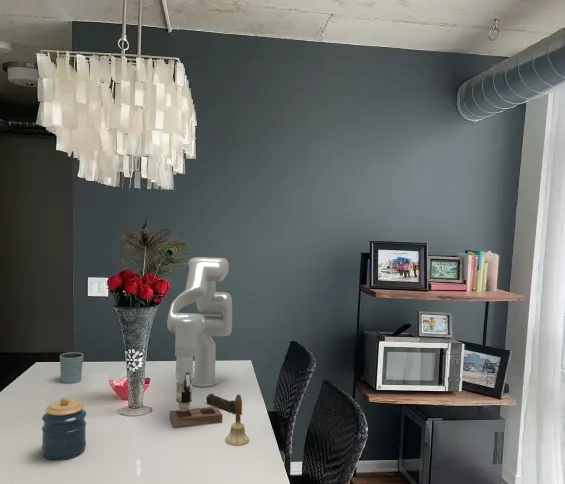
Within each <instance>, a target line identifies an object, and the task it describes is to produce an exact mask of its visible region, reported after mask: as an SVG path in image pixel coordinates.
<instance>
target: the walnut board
mask: <svg viewBox="0 0 565 484" xmlns="http://www.w3.org/2000/svg"><path fill="white" fill-rule="evenodd" d="M168 418H169V422H170V423H171V426H172V428H173V429H179V428H187V427H194V426H204V425H205V426H206V425H211V424H212V425H213V424H220V423H221V424H222V423H223V413H222V412H221V411H220V409H219V408H218V406H216V405H214V406H209V407H208V406H206V407H196V408H188V411H180V410H179V409H176V410H170V411H169V417H168Z"/></svg>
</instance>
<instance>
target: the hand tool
mask: <svg viewBox="0 0 565 484" xmlns="http://www.w3.org/2000/svg"><path fill="white" fill-rule="evenodd" d="M205 400H206V404H209V405H213V406H217V407H219V408H222V409H224V410H227V411H228V412H229V413H230V414H235V415H236V411H235V400H228V399H224V398H221V397H220V396H217V395H215V394H214V393H209V394H208V395H207V396H206V399H205ZM242 413H243V408H242V409H241V413H240V416H241V415H242Z"/></svg>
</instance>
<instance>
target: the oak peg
mask: <svg viewBox="0 0 565 484" xmlns="http://www.w3.org/2000/svg"><path fill="white" fill-rule="evenodd" d="M184 383H186V382H184ZM185 386H186V385H184V387H185ZM190 390H191V396H190V402H188V403H182V402H181V394H182V384H181V385H180V384H179V383H178V382H177V381H176V397H175V398H176V399H175V401H176V403H178V408H179V409H178V410H180V411H188V409H189V407H190V403H191V402H192V401H193V399H192V398H193V385H192V383H191V384H190Z"/></svg>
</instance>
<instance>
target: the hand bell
mask: <svg viewBox="0 0 565 484" xmlns="http://www.w3.org/2000/svg"><path fill="white" fill-rule="evenodd" d="M234 401H235V411H236V414H235V422H234V423H231V425H230V426H231V427H230V431H229V433H228V435H227V436H226V438H225V439H224V441H225V443H226V444H228V445H231V446H244V445H247V444H249V442H250V438H249V436H248V435H247V434H246V430H245V425H244V423H242V422H241V421H242V420H241V415H240V413H241V409H242V410H243V399H242V395H241V394H239V393H237V394H236V397H235V400H234Z"/></svg>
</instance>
